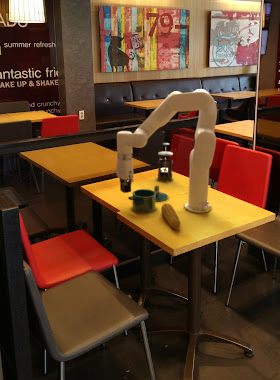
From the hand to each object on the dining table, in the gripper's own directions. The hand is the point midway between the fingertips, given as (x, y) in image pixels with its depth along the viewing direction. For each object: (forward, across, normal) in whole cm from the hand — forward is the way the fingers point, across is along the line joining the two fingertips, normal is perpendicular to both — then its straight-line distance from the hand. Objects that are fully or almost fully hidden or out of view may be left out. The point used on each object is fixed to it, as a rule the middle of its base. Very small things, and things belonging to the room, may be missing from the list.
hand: (125, 190), depth 201 cm
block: (0, 0, 0) cm, 0 cm away
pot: (+8, +8, +5) cm, 13 cm away
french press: (+9, -24, +41) cm, 48 cm away
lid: (+8, 0, +19) cm, 21 cm away
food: (+9, +28, +8) cm, 30 cm away
